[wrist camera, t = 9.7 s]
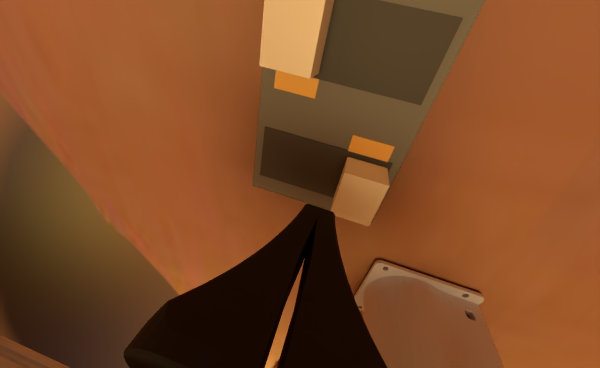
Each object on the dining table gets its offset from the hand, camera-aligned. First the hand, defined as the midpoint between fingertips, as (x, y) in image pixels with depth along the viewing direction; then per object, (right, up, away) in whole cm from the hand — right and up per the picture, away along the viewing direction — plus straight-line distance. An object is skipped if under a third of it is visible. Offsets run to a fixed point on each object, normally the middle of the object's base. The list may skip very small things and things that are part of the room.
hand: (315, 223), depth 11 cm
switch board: (+2, +7, +4) cm, 8 cm away
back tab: (+3, +2, +4) cm, 5 cm away
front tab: (-1, +9, 0) cm, 9 cm away
